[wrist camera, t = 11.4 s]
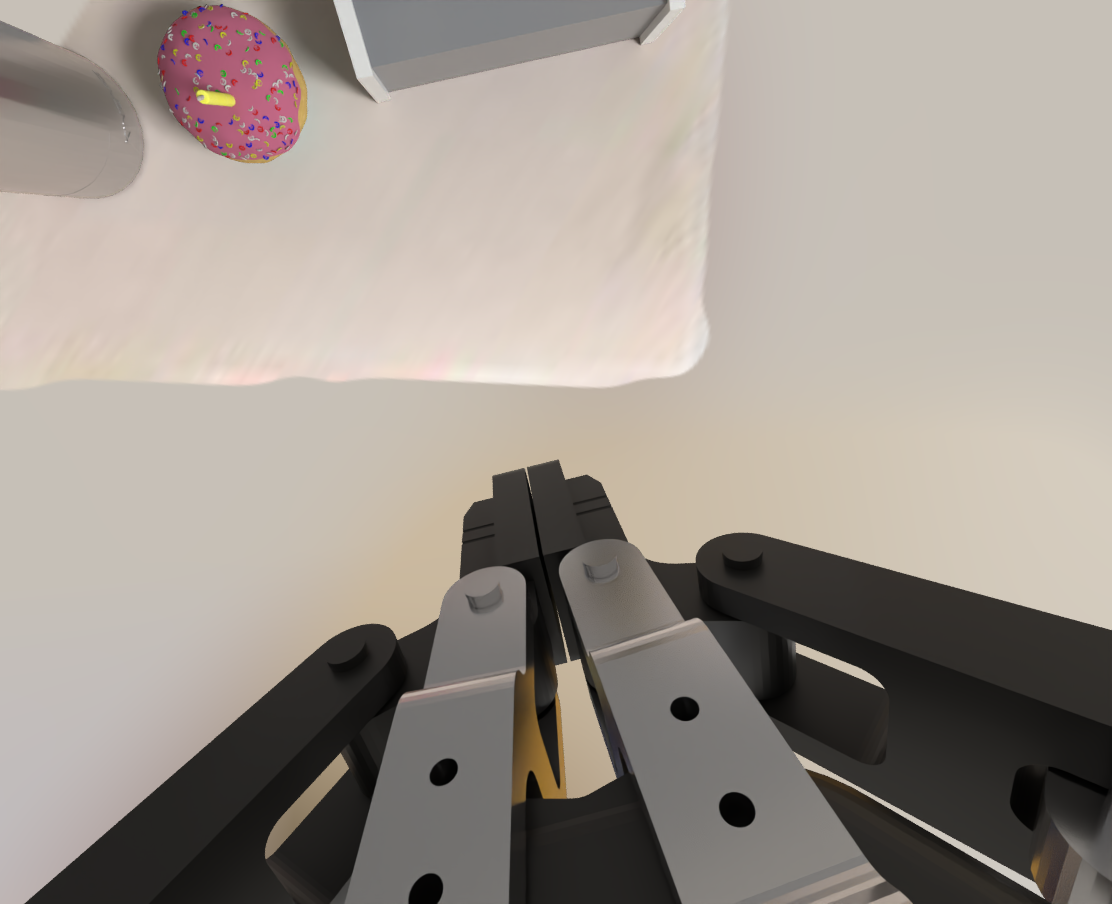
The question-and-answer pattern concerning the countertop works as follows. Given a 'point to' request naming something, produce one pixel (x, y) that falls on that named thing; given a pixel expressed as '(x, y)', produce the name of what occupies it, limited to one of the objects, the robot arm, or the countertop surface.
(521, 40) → the switch box
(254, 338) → the countertop surface
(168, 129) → the countertop surface
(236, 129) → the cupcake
